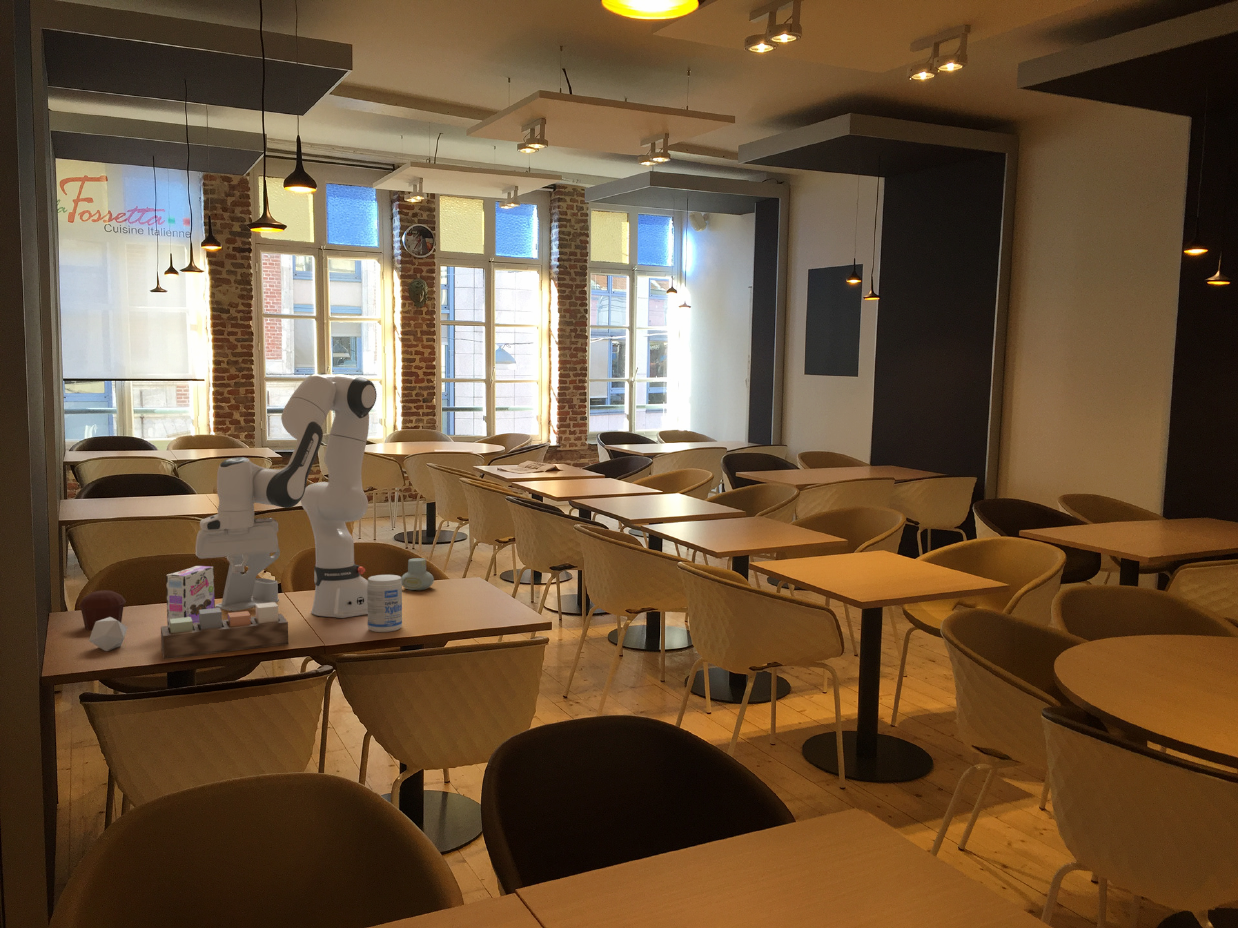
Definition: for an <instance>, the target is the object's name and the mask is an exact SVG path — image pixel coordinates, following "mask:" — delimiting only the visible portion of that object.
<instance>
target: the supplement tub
mask: <svg viewBox="0 0 1238 928" xmlns="http://www.w3.org/2000/svg"><path fill="white" fill-rule="evenodd" d="M401 577H402V576H400V575H396V574H377V575H371V576H369V577H368V578H367V581H368V583H367V584H368V585H367V597H368V614H367V628H368V630H369V631H371V632H376V633H389V632H395V631H398V630H400V629H401V628H402V627H403V586H402V581H401Z"/></svg>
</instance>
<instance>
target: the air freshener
mask: <svg viewBox="0 0 1238 928" xmlns="http://www.w3.org/2000/svg"><path fill="white" fill-rule="evenodd" d="M407 561H408V562H407V572H405V573H403V575H402V576H400V577H401V581H402V588H404V589H407V590H409V591H411V590H420V591H425V590H426V589H429V588H430V587H431V586H433V584H434V581H435V577H434V576H433V574H431V573H430V571H427V559H425V558H422V557H421V558H420V557H417V558H415V557H414V558H409V559H408V560H407Z"/></svg>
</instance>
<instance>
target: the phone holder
mask: <svg viewBox="0 0 1238 928" xmlns="http://www.w3.org/2000/svg"><path fill="white" fill-rule="evenodd" d="M280 553H281V549H280V548H279V547H278V550H277V551H276V552H274V553H273V555H270V554H271V553H262V554H251V555H249V559H248V561H247V563H246V564H245V567H247V568H248V569H247V571H246V572H244V574H243V573H242V572H237V573H233V572H232V565H231V564H230V563H229V566H228V571H227V576H226V580H225V586H224V590H223V596H222V601H221V602H220V603H217V604H216V603H215V608H220V610H224V611H229V612H240V611H243V610H247V609H251V608H256V605H255V604H261V603H271V602H275V603H278V602H279V603H280V598H279V594H278V593H279V592H278V591H279V590H278V588H279V587H278V584H279V583H278V580H275V579H269V578H266V577H265V578H264V577H259V578H258V577H257V576H258V575H259V574H260V573H261V572H263V571H264V570H265V569H267V568H268V567H269V566H270V565H272V564H273V563H274V562H275V561H276V560H278V558H279V557H280ZM243 560H244V559H243V558H242V555H239V556H234V560H231V561H232V562H233V563H234V565H241V563H242V561H243Z"/></svg>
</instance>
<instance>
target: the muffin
mask: <svg viewBox="0 0 1238 928" xmlns="http://www.w3.org/2000/svg"><path fill="white" fill-rule="evenodd" d="M126 602H127V600H125V598H124V597H123V596H122V595H121V594H120V593H117V592H115V591H113V590H108V589H107V590H95V591H94V592H91V593H89V594H87V595H86V596H84V597H83V598H82V599H81V602H80V603H79V605H78V608H80V610H81V615H82V620H83V624H84V628H85V629H86V630H88V631H92V630H93V627H94V625H95V622H96V621H99V620H102V619H105V618H108V617H111V618H114V619H116V620H118V621H119V622H121V623H122V620H123V612H124V605H125V604H126Z"/></svg>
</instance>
